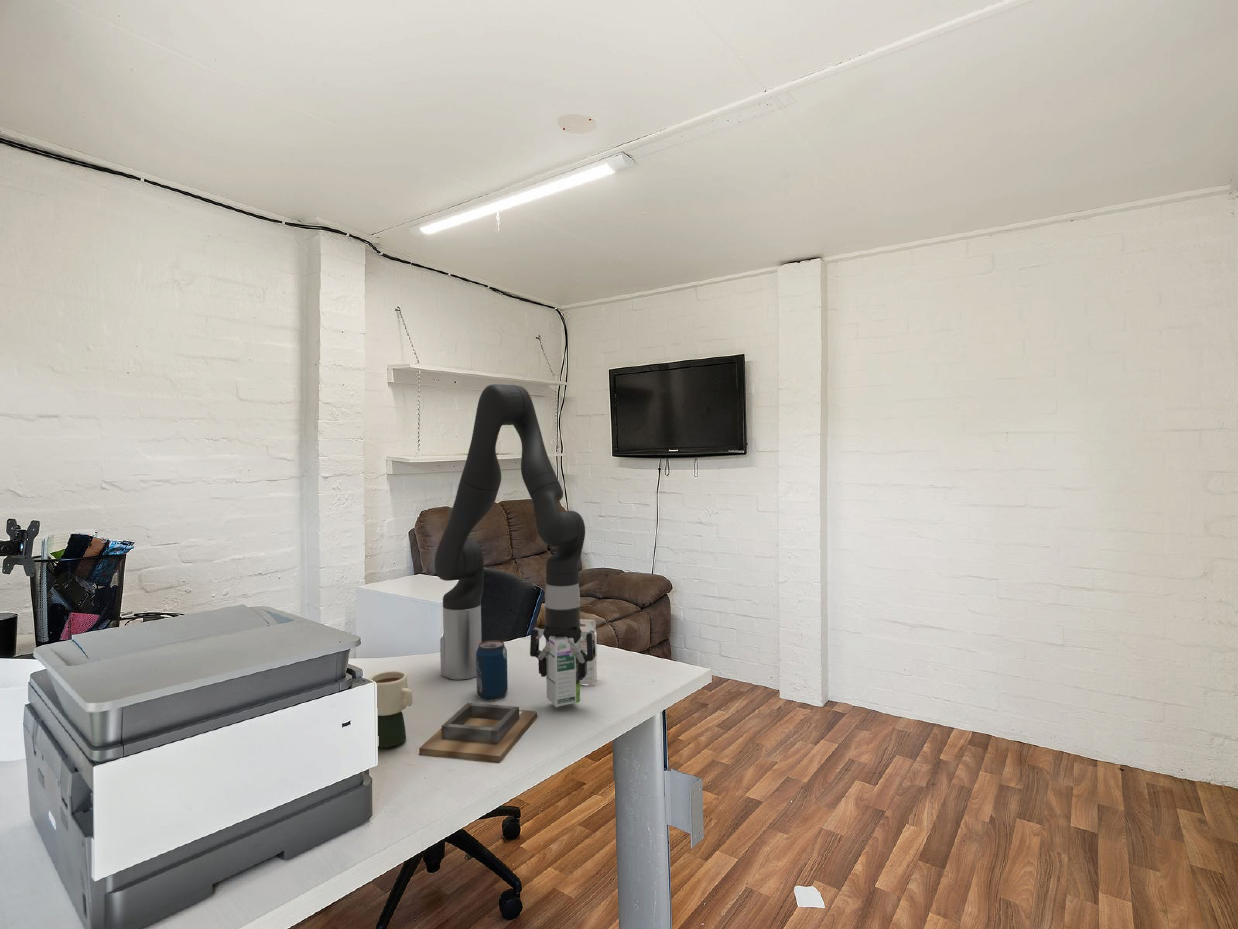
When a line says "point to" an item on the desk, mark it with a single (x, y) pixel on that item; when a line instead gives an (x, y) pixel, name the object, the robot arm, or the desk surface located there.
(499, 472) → the robot arm
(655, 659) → the desk surface
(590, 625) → the ink cartridge box
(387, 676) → the character mug
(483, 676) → the soda can
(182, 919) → the desk surface
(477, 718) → the base board
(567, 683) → the syrup box
